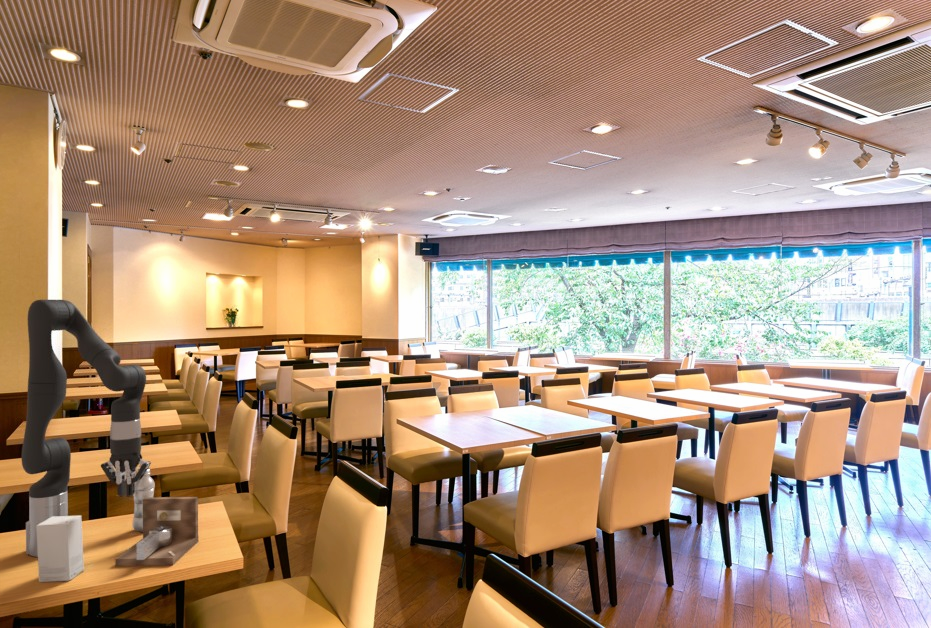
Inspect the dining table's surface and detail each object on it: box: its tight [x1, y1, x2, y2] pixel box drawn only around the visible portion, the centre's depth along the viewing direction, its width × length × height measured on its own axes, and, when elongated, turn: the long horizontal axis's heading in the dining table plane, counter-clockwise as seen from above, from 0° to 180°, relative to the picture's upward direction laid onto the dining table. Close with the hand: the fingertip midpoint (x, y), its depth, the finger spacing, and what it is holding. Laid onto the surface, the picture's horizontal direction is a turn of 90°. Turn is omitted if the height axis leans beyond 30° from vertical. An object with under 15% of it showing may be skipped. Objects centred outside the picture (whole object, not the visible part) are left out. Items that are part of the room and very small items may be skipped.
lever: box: [136, 525, 172, 560], centre depth 163 cm, size 14×6×5 cm, turn 2°
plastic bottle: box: [132, 467, 156, 532], centre depth 183 cm, size 6×7×20 cm
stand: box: [114, 496, 199, 567], centre depth 166 cm, size 16×16×14 cm
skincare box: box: [36, 515, 85, 583], centre depth 151 cm, size 8×7×16 cm
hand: (126, 496), depth 160 cm, fingers closed
